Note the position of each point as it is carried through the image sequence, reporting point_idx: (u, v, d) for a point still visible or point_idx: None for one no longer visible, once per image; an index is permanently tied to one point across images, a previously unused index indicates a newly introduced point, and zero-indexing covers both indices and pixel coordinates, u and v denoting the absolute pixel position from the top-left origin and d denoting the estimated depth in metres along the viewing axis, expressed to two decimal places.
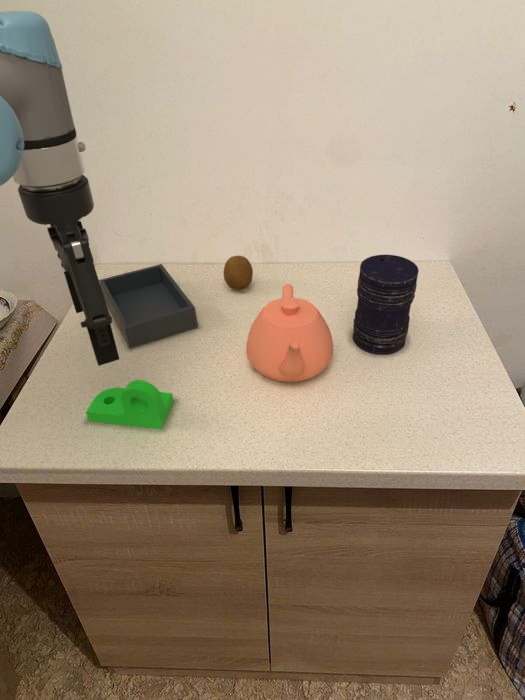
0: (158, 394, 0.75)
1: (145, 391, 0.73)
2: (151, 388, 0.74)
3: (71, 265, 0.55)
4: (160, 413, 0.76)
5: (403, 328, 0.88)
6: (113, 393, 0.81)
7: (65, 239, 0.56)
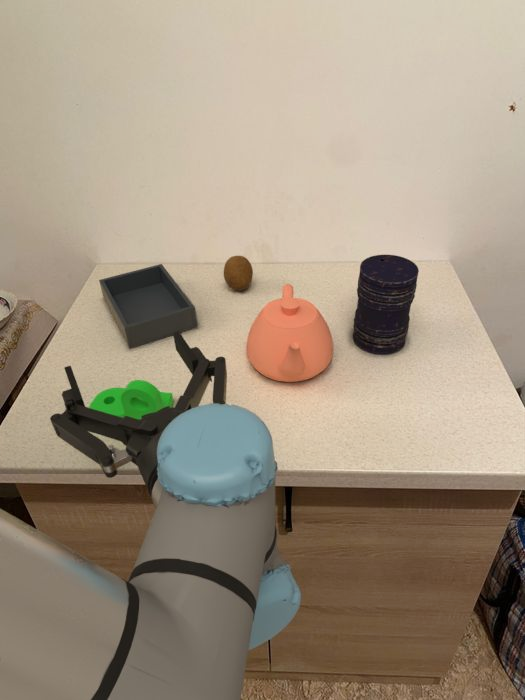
0: (158, 394, 0.75)
1: (145, 391, 0.73)
2: (151, 388, 0.74)
3: (93, 449, 0.50)
4: None
5: (403, 328, 0.88)
6: (113, 393, 0.81)
7: (129, 452, 0.50)
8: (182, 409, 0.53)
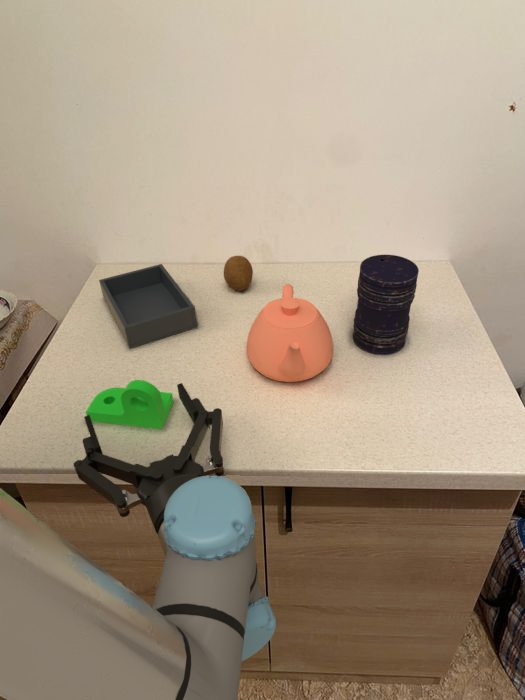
0: (158, 394, 0.75)
1: (145, 391, 0.73)
2: (151, 388, 0.74)
3: (110, 493, 0.60)
4: (160, 413, 0.76)
5: (403, 328, 0.88)
6: (113, 393, 0.81)
7: (139, 496, 0.60)
8: (184, 458, 0.63)
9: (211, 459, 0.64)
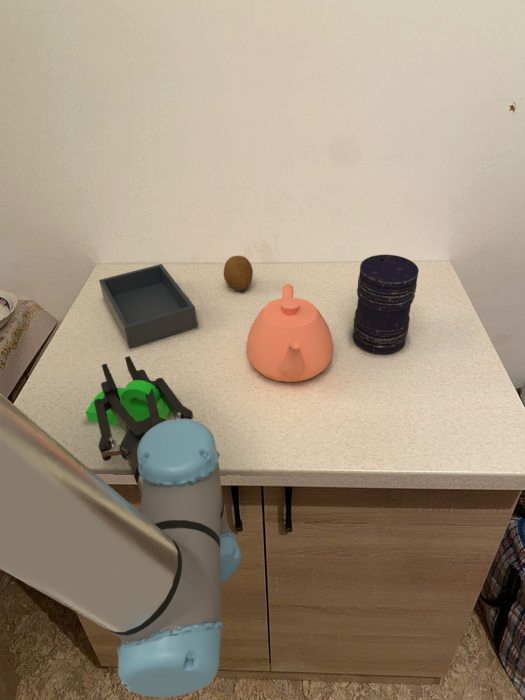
0: (158, 394, 0.75)
1: (145, 392, 0.73)
2: (151, 388, 0.74)
3: (101, 435, 0.67)
4: (160, 413, 0.76)
5: (403, 328, 0.88)
6: None
7: (121, 451, 0.65)
8: (157, 418, 0.69)
9: (181, 415, 0.70)
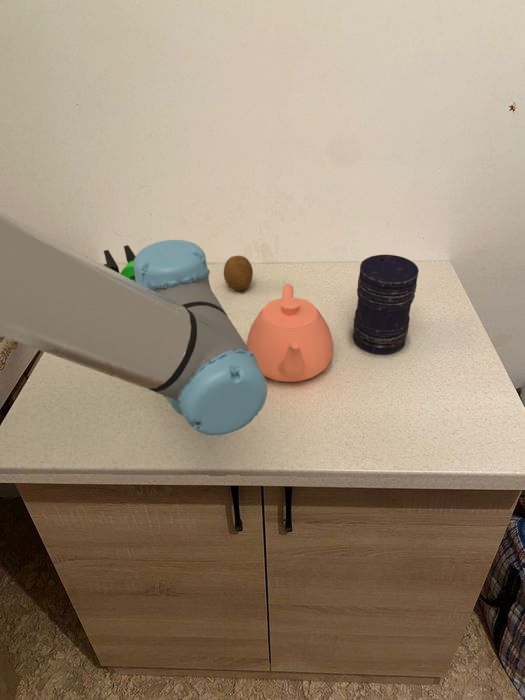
0: None
1: None
2: None
3: None
4: None
5: (403, 328, 0.88)
6: None
7: None
8: None
9: None
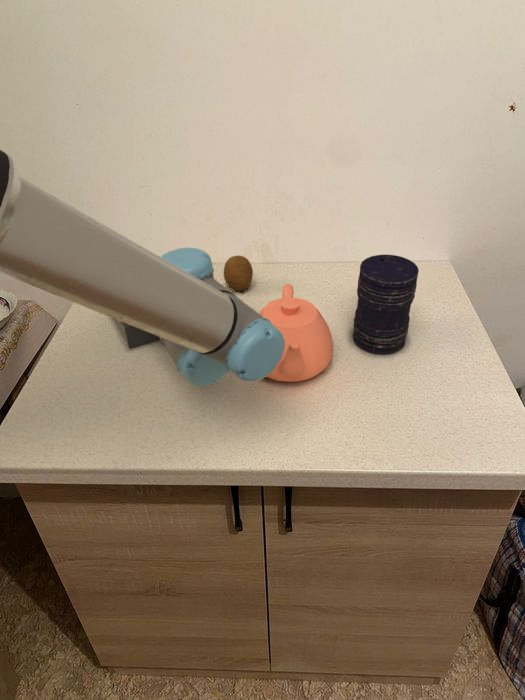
0: None
1: None
2: None
3: None
4: None
5: (403, 328, 0.88)
6: None
7: None
8: None
9: None
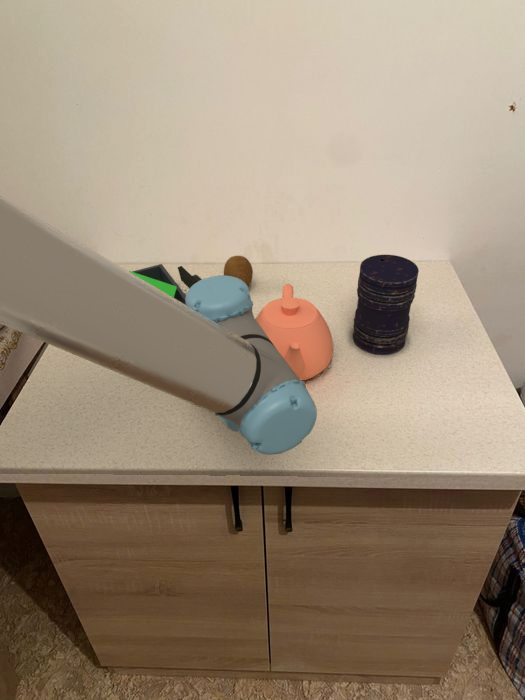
0: None
1: None
2: None
3: None
4: None
5: (403, 328, 0.88)
6: None
7: None
8: None
9: None
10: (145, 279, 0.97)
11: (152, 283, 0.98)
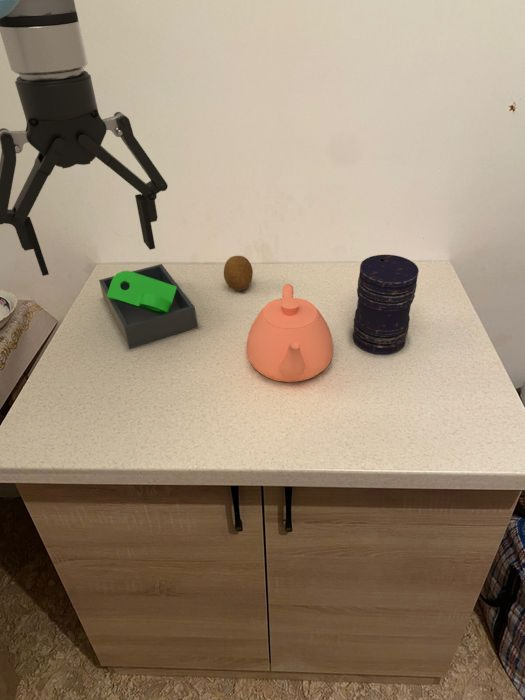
0: (169, 305, 0.94)
1: (161, 309, 0.92)
2: (165, 303, 0.93)
3: (133, 136, 0.58)
4: None
5: (403, 328, 0.88)
6: (127, 278, 0.97)
7: (104, 123, 0.56)
8: (50, 153, 0.54)
9: (15, 145, 0.53)
10: (145, 279, 0.97)
11: (152, 283, 0.98)
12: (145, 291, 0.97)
